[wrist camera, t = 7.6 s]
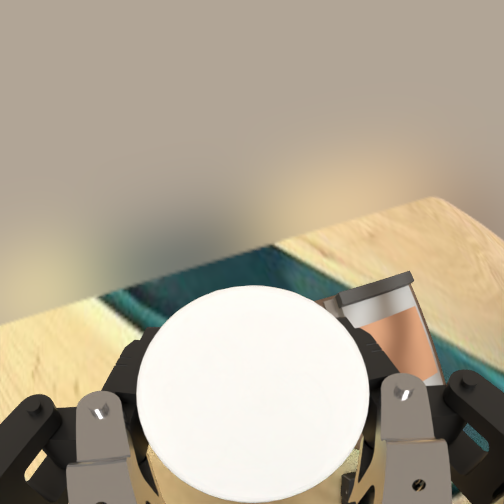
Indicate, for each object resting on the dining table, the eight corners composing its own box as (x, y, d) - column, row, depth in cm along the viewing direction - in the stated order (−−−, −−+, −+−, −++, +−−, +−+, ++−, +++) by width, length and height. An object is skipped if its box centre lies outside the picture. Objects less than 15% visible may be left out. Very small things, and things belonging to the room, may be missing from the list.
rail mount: (401, 277, 29) (417, 262, 26) (443, 399, 22) (465, 396, 18) (311, 305, 28) (320, 290, 24) (354, 448, 20) (370, 454, 17)
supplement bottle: (173, 393, 13) (46, 374, 4) (246, 323, 15) (244, 194, 6) (252, 464, 11) (262, 577, 2) (324, 388, 13) (453, 359, 4)
